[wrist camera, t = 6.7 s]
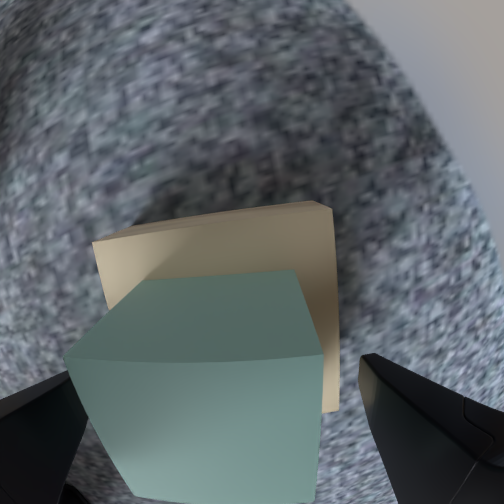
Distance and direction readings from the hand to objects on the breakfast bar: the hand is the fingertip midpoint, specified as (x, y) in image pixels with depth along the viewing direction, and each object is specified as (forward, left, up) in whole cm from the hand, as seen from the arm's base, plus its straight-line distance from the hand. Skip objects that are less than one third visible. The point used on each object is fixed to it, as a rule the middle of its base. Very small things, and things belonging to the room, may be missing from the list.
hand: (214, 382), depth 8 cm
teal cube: (0, 0, -2) cm, 2 cm away
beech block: (0, 0, -6) cm, 6 cm away
